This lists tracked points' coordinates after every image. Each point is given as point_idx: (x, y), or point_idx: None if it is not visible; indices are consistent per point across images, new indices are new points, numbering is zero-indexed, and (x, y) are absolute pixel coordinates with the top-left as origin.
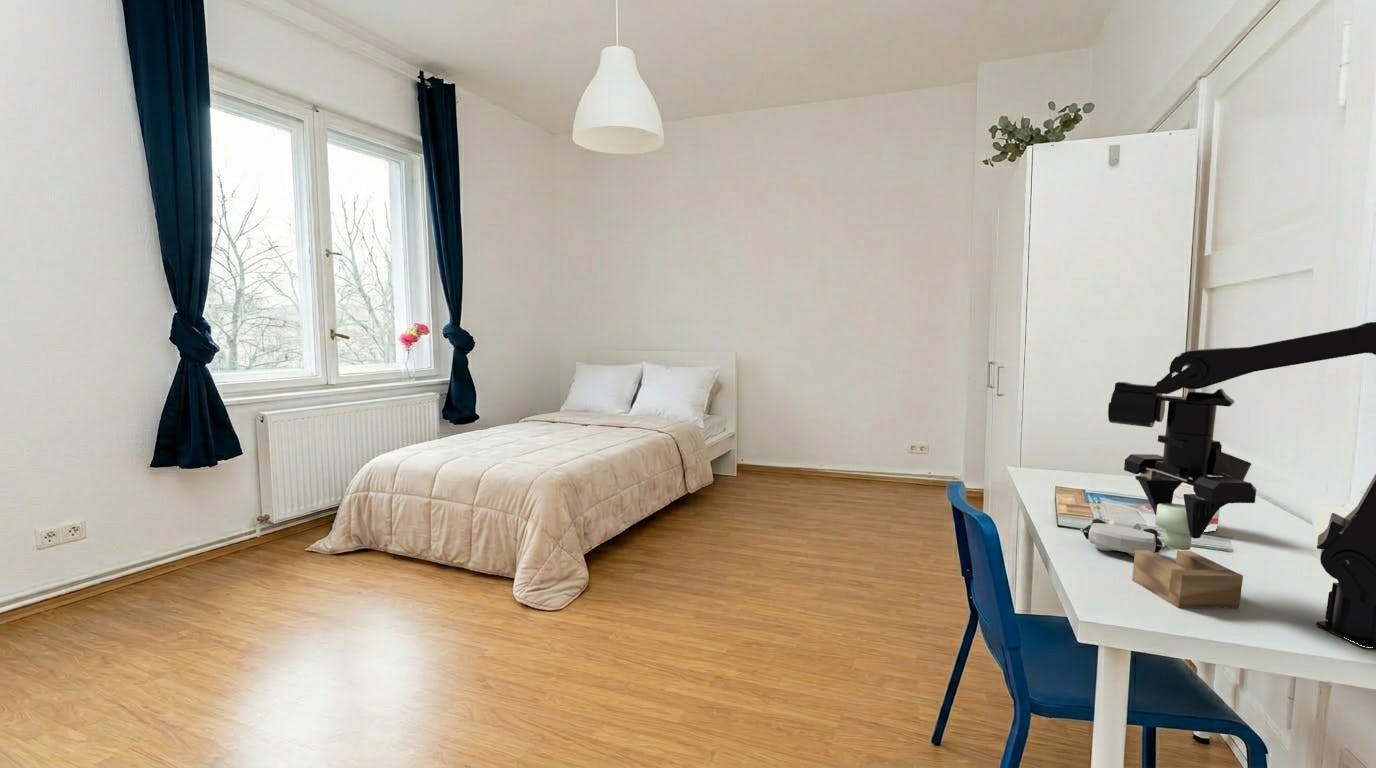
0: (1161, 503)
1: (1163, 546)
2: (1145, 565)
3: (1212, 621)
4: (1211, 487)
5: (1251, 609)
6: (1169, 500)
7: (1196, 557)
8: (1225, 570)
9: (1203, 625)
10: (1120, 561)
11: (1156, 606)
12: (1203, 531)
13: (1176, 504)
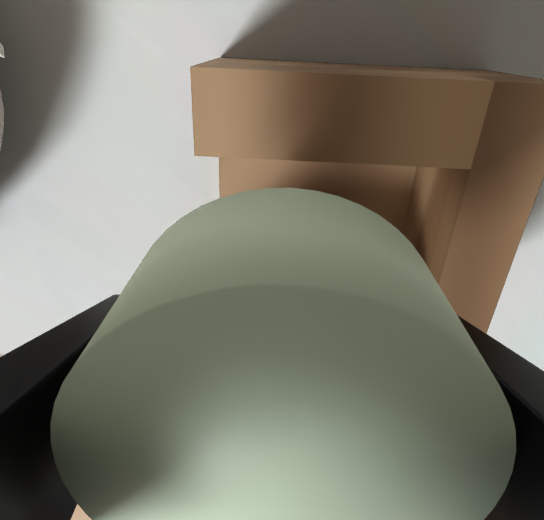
0: (86, 508)
1: (1, 51)
2: None
3: (530, 258)
4: None
5: (509, 16)
6: (6, 452)
7: (299, 128)
8: (488, 123)
9: (538, 302)
10: (37, 193)
11: None
12: (495, 342)
13: (92, 409)
